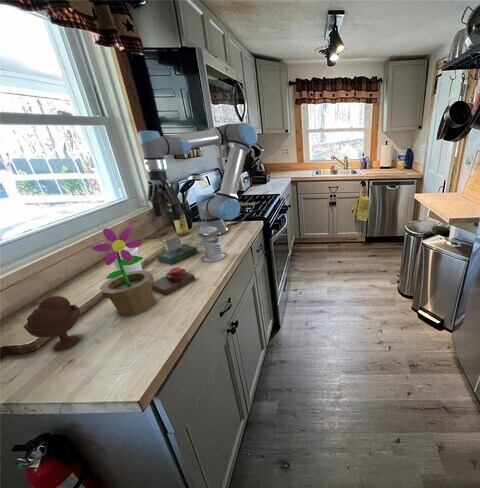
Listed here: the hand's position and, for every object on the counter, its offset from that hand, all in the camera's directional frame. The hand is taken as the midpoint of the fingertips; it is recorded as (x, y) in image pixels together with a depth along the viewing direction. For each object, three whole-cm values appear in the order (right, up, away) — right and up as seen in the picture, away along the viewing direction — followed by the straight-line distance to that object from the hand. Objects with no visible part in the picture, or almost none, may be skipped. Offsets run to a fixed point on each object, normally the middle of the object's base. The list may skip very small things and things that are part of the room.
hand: (167, 218), depth 118 cm
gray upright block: (0, -15, +6) cm, 17 cm away
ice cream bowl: (-2, -41, -43) cm, 59 cm away
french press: (+18, -19, +6) cm, 27 cm away
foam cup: (-7, -27, -11) cm, 30 cm away
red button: (+13, -24, -15) cm, 31 cm away
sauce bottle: (-13, -6, +37) cm, 39 cm away
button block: (+12, -28, -15) cm, 34 cm away
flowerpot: (+7, -34, -28) cm, 44 cm away
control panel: (0, -18, +8) cm, 20 cm away
